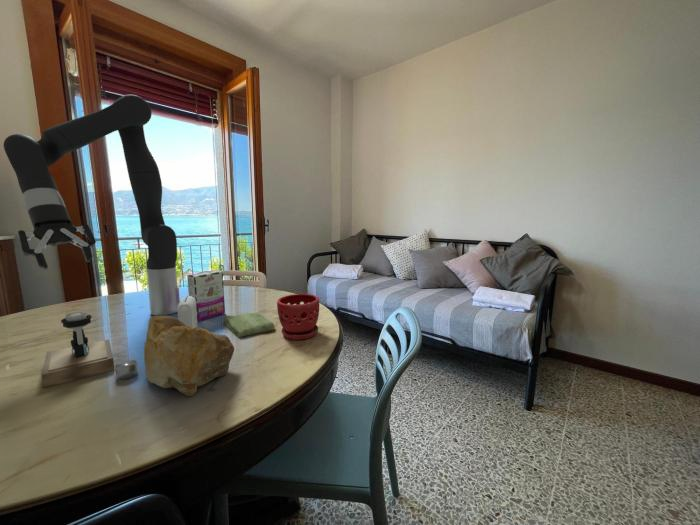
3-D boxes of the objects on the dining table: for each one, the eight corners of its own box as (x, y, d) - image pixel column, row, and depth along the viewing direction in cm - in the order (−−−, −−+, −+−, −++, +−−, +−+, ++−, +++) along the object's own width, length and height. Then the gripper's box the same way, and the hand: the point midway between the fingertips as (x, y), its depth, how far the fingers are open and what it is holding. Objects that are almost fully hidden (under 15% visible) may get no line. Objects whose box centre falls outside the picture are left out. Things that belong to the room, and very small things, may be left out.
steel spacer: (136, 369, 72) (135, 358, 72) (138, 376, 69) (137, 364, 69) (115, 375, 69) (114, 363, 69) (117, 382, 66) (115, 370, 66)
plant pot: (303, 324, 105) (303, 290, 103) (327, 335, 95) (327, 298, 94) (269, 333, 95) (269, 297, 94) (293, 347, 86) (292, 307, 84)
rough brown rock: (255, 386, 68) (257, 321, 67) (176, 416, 55) (177, 337, 54) (208, 356, 83) (209, 303, 82) (137, 375, 70) (137, 312, 69)
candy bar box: (217, 311, 116) (215, 269, 113) (225, 313, 113) (223, 271, 111) (189, 319, 106) (186, 274, 104) (197, 322, 104) (194, 276, 101)
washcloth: (259, 316, 112) (258, 308, 112) (276, 331, 98) (276, 322, 98) (222, 323, 105) (221, 314, 104) (235, 340, 91) (235, 330, 90)
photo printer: (184, 330, 96) (181, 293, 94) (198, 329, 98) (196, 292, 96) (178, 343, 87) (175, 302, 85) (194, 341, 88) (192, 301, 86)
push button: (63, 352, 73) (58, 313, 71) (91, 345, 77) (87, 308, 75) (67, 361, 69) (62, 319, 67) (97, 353, 73) (92, 314, 71)
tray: (110, 349, 82) (108, 338, 81) (114, 369, 72) (113, 357, 71) (48, 363, 74) (46, 350, 73) (43, 388, 64) (41, 373, 63)
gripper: (7, 204, 72) (30, 266, 72) (82, 201, 83) (103, 254, 82) (8, 217, 77) (30, 275, 76) (80, 212, 88) (99, 263, 87)
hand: (68, 264), depth 79 cm, fingers open, 8 cm apart
